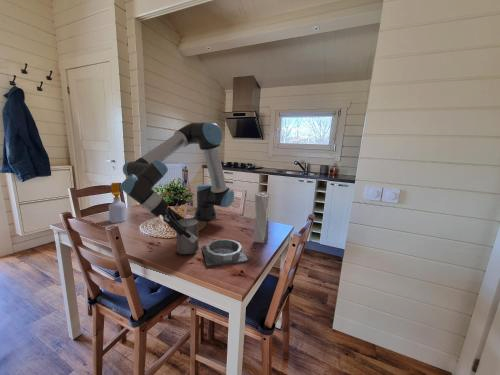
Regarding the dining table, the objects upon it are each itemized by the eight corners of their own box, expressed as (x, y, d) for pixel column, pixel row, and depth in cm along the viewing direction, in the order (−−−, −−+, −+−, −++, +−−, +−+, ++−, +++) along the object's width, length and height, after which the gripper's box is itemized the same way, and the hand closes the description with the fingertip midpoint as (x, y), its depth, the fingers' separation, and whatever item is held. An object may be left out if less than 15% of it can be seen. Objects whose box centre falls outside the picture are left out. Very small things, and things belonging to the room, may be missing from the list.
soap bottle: (110, 224, 127) (107, 184, 123) (108, 219, 134) (105, 181, 130) (127, 221, 133) (125, 183, 128) (125, 217, 140) (122, 180, 135)
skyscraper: (266, 245, 110) (270, 192, 105) (251, 243, 111) (254, 191, 106) (268, 238, 118) (271, 189, 113) (253, 236, 120) (256, 188, 114)
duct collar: (202, 247, 104) (202, 240, 103) (237, 244, 110) (237, 236, 109) (206, 267, 87) (206, 258, 87) (248, 262, 93) (248, 253, 92)
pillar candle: (190, 242, 106) (190, 214, 102) (202, 249, 99) (202, 219, 96) (172, 249, 98) (171, 218, 95) (184, 257, 92) (183, 224, 89)
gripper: (152, 203, 100) (187, 232, 108) (145, 220, 80) (189, 253, 88) (164, 192, 101) (198, 221, 109) (160, 205, 80) (202, 240, 89)
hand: (194, 235), depth 99 cm, fingers closed on pillar candle, 9 cm apart
